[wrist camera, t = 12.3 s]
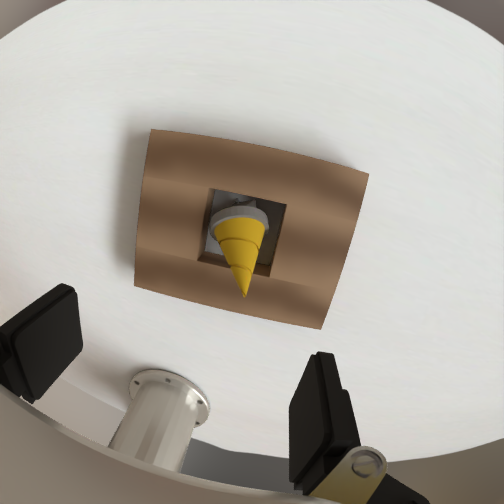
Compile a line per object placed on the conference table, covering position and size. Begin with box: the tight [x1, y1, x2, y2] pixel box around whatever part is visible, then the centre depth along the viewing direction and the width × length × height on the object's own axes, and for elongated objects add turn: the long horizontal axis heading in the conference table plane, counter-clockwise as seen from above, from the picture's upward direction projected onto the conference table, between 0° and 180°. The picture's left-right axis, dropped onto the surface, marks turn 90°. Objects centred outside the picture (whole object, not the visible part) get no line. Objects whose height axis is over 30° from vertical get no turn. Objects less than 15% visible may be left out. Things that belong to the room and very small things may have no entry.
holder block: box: [134, 129, 369, 330], centre depth 27 cm, size 16×20×3 cm
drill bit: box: [210, 199, 269, 297], centre depth 26 cm, size 5×5×10 cm
